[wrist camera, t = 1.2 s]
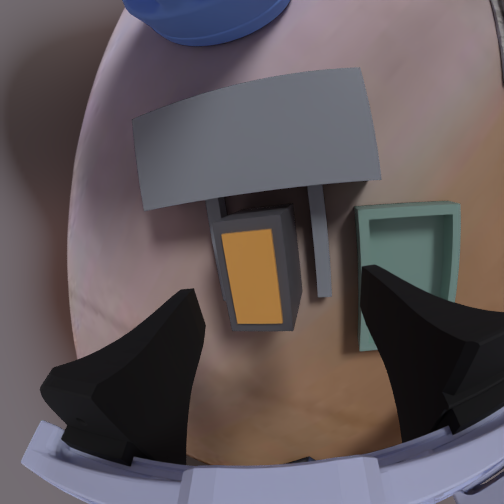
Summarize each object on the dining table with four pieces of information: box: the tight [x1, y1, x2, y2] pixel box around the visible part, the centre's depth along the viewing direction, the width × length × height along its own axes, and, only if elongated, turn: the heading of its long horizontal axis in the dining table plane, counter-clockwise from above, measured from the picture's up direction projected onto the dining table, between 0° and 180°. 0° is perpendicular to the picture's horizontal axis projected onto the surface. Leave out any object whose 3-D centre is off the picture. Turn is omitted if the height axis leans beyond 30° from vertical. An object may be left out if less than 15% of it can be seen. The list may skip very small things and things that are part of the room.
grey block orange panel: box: [212, 204, 302, 331], centre depth 21 cm, size 8×4×7 cm, turn 8°
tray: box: [354, 201, 461, 351], centre depth 20 cm, size 13×9×2 cm
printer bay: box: [132, 67, 381, 301], centre depth 21 cm, size 18×18×5 cm
